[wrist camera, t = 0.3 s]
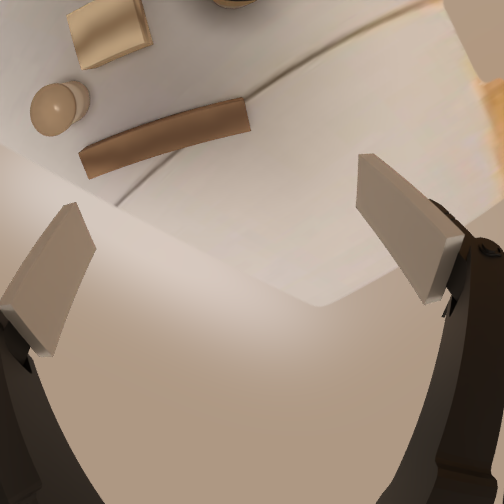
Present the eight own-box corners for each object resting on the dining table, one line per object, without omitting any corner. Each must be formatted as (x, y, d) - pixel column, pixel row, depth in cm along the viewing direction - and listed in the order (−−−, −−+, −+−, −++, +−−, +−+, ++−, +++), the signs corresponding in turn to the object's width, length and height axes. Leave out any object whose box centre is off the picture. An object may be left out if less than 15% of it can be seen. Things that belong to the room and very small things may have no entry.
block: (82, 18, 24) (66, 15, 20) (139, -7, 24) (129, -15, 20) (96, 67, 29) (81, 70, 25) (153, 44, 29) (144, 42, 25)
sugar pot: (46, 91, 29) (24, 99, 24) (84, 71, 29) (64, 74, 24) (59, 131, 33) (40, 144, 28) (98, 113, 33) (80, 123, 28)
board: (86, 146, 35) (78, 153, 33) (242, 97, 34) (244, 100, 32) (96, 171, 37) (89, 179, 35) (248, 125, 37) (250, 131, 34)
